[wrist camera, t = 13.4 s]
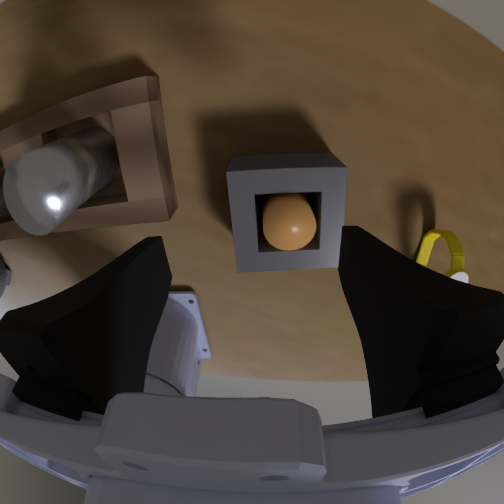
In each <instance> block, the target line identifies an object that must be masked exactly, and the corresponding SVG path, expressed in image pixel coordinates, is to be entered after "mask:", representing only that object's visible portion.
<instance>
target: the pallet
mask: <svg viewBox="0 0 504 504" xmlns="http://www.w3.org/2000/svg"><path fill="white" fill-rule="evenodd" d="M89 127H100V128H103V129H105V130H106V131H108V132H109V133H110V134H111V135H112V136H113V137H114V138H115V141H116V146H117V151H118V156H119V161H120V166H119V170H118V172H117V174H116V175H115V177H114V178H113V179H112V180H111V181H110V182H109V183H107V184H106V185H105V186H104V187H102V188H101V189H100V190H99V191H97V192H96V193H95V194H94V195H92V196H91V197H90V198H89V199H88V200H86V201H85V202H84V203H83V204H82V205H80V206H79V207H78V208H77V209H76V210H75V211H73V212H72V213H71V214H70V215H69V216H68V217H67V218H65V219H64V220H63V221H62V222H61V223H60V224H59V225H58V226H57V227H56V228H55V229H53V230H52V231H51V232H50V233H57V232H65V231H74V230H82V229H91V228H100V227H109V226H119V225H129V224H139V223H150V222H161V221H170V219H171V217H172V216H173V214H174V212H175V211H176V209H177V207H178V204H177V199H176V193H175V188H174V182H173V176H172V170H171V164H170V158H169V152H168V145H167V138H166V132H165V125H164V117H163V110H162V102H161V94H160V85H159V76H142V77H138V78H134V79H130V80H127V81H123V82H119V83H116V84H112V85H109V86H106V87H103V88H99V89H96V90H93V91H90V92H87V93H85V94H82V95H79V96H76V97H73V98H71V99H68V100H66V101H63V102H60V103H58V104H56V105H53V106H51V107H48V108H46V109H44V110H41V111H39V112H37V113H35V114H33V115H31V116H28V117H26V118H24V119H22V120H20V121H18V122H16V123H14V124H12V125H10V126H8V127H7V128H5V129H3V130H1V131H0V161H3V164H4V168H5V171H6V169H7V167H8V165H9V164H10V163H11V162H12V161H13V160H14V159H15V158H17V157H19V156H21V155H23V154H25V153H27V152H30V151H32V150H34V149H36V148H38V147H41V146H43V145H45V144H47V143H50V142H52V141H55V140H57V139H59V138H62V137H64V136H67V135H70V134H72V133H75V132H77V131H80V130H83V129H86V128H89ZM48 234H49V233H48ZM27 236H34V235H33V234H30V233H28V232H26V231H25V230H23V229H22V228H21V227H20V226H19V225H18V224H17V223H16V222H15V221H14V219H13V218H12V216H11V214H10V213H9V210H8V209H7V210H6V211H5V212H3V213H2V214H1V215H0V240H6V239H13V238H20V237H27Z"/></svg>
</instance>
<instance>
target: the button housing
mask: <svg viewBox="0 0 504 504" xmlns="http://www.w3.org/2000/svg"><path fill="white" fill-rule="evenodd" d="M226 176H227V185H228V194H229V203H230V212H231V221H232V229H233V238H234V246H235V255H236V263H237V271H238V272H257V271H277V270H296V269H314V268H331V267H338V264H339V254H340V244H341V233H342V226H344V214H345V199H346V181H347V167H346V166H345V165H344V164H343V163H342V162H341V161H340V160H339V159H338V158H337V157H336V156H335V155H334V154H333V153H332V152H302V153H273V154H255V155H240V156H232V157H231V160H230V163H229V165H228V168H227V171H226ZM296 192H311V210H312V212H313V215H314V217H315V220H316V231H315V234H314V236H313V238H312V240H311V241H310V242H309V243H308V244H307V245H305V246H304V247H302V248H300V249H297V250H291V251H286V250H281V249H278V248H276V247H274V246H272V245H271V244H270V243H269V242H268V241H267V239H266V238H265V235H264V232H263V225H258V211H257V197H256V194H273V193H296Z"/></svg>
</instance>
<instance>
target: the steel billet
mask: <svg viewBox="0 0 504 504" xmlns="http://www.w3.org/2000/svg"><path fill="white" fill-rule="evenodd" d="M119 166H120V161H119V156H118V151H117V146H116V141H115V138H114V137H113V136H112V135H111V134H110V133H109V132H108V131H106V130H105V129H103V128H100V127H89V128H86V129H83V130H80V131H77V132H75V133H72V134H70V135H67V136H64V137H62V138H59V139H57V140H55V141H52V142H50V143H47V144H45V145H43V146H41V147H38V148H36V149H34V150H32V151H30V152H27V153H25V154H23V155H21V156H19V157H17V158H15V159H14V160H13V161H12V162H11V163H10V164H9V165H8V167H7V169H6V171H5V175H4V179H3V193H4V199H5V203H6V206H7V208H8V210H9V213H10V214H11V216H12V218H13V219H14V221H15V222H16V223H17V224H18V225H19V226H20V227H21V228H22V229H23V230H25V231H26V232H28V233H30V234H33V235H37V236H42V235H46V234H48V233H50V232H51V231H52V230H53V229H55V228H56V227H57V226H58V225H59V224H60V223H61V222H62V221H63V220H64V219H65V218H67V217H68V216H69V215H70V214H71V213H72V212H73V211H75V210H76V209H77V208H78V207H79V206H80V205H82V204H83V203H84V202H85V201H86V200H88V199H89V198H90V197H91V196H92V195H94V194H95V193H96V192H97V191H99V190H100V189H101V188H102V187H104V186H105V185H106V184H107V183H109V182H110V181H111V180H112V179H113V178H114V177H115V175H116V174H117V172H118V170H119Z"/></svg>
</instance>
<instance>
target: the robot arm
mask: <svg viewBox="0 0 504 504" xmlns="http://www.w3.org/2000/svg"><path fill="white" fill-rule="evenodd" d="M338 272H339V276H340V281H341V285H342V289H343V292H344V295H345V297H346V300H347V303H348V305H349V308H350V311H351V313H352V316H353V319H354V321H355V324H356V327H357V330H358V333H359V336H360V339H361V343H362V348H363V353H364V358H365V363H366V368H367V374H368V381H369V387H370V395H371V405H372V418H371V419H366V420H360V421H354V422H348V423H340V424H333V425H326V426H322V422H321V418H320V416H319V414H318V411H317V409H315V408H313V407H312V406H309V405H307V404H304V403H301V402H299V401H296V400H294V399H280V398H269V397H259V398H214V397H213V398H212V397H196V393H197V386H198V380H199V374H200V368H201V362H202V358H210V357H211V350H210V347H209V343H208V339H207V336H206V332H205V328H204V324H203V320H202V317H201V313H200V309H199V305H198V301H197V297H196V294H195V293H194V292H193V291H170V286H171V281H172V274H171V271H170V267H169V263H168V259H167V256H166V252H165V248H164V244H163V240H162V236H156V237H147V238H145V239H143V240H142V241H140V242H139V243H137V244H136V245H134V246H133V247H131V248H130V249H129V250H127V251H126V252H124V253H123V254H122V255H120V256H119V257H118V258H116V259H115V260H113V261H112V262H110V263H109V264H108V265H106V266H105V267H103V268H102V269H100V270H99V271H97V272H96V273H94V274H93V275H91V276H90V277H88V278H86V279H85V280H83V281H81V282H79V283H78V284H76V285H74V286H72V287H70V288H68V289H66V290H64V291H62V292H60V293H58V294H56V295H53V296H51V297H49V298H46V299H44V300H41V301H39V302H36V303H33V304H30V305H27V306H24V307H21V308H17V309H14V310H10V311H8V312H6V313H5V315H4V316H3V317H2V319H1V320H0V352H1V354H2V355H3V357H4V358H5V359H6V360H7V362H8V363H9V364H10V365H11V367H12V368H13V369H14V370H15V371H16V373H17V374H18V375H19V376H20V377H19V379H18V380H17V382H16V381H14V380H13V379H11V378H9V377H7V376H4V375H2V374H0V444H1V445H2V446H3V447H5V448H6V449H8V450H9V451H10V452H12V453H13V454H15V455H17V456H19V457H21V458H22V459H24V460H26V461H28V462H30V463H31V464H33V465H35V466H37V467H39V468H41V469H43V470H45V471H47V472H49V473H51V474H53V475H55V476H57V477H60V478H62V479H64V480H66V481H68V482H71V483H73V484H75V485H78V486H80V487H83V488H85V489H86V490H87V492H86V496H85V500H84V504H401V498H404V497H407V496H410V495H413V494H416V493H418V492H421V491H424V490H426V489H429V488H431V487H434V486H436V485H439V484H441V483H443V482H446V481H448V480H450V479H452V478H454V477H456V476H458V475H461V474H463V473H465V472H467V471H469V470H471V469H473V468H475V467H477V466H478V465H480V464H482V463H484V462H486V461H488V460H489V459H491V458H493V457H495V456H496V455H498V454H500V453H501V452H503V451H504V368H503V369H502V370H501V371H500V372H499V370H498V368H497V366H496V364H498V362H499V357H498V355H497V354H496V351H497V349H498V348H499V346H500V344H501V343H502V341H503V340H504V294H503V293H502V292H500V291H496V290H491V289H487V288H482V287H478V286H474V285H471V284H468V283H464V282H461V281H458V280H455V279H453V278H450V277H447V276H445V275H443V274H440V273H438V272H435V271H433V270H431V269H429V268H427V267H425V266H423V265H421V264H419V263H417V262H415V261H413V260H411V259H409V258H408V257H406V256H404V255H403V254H401V253H399V252H398V251H396V250H394V249H393V248H391V247H390V246H388V245H387V244H385V243H384V242H382V241H381V240H379V239H378V238H376V237H375V236H373V235H372V234H370V233H369V232H367V231H365V230H364V229H362V228H360V227H358V226H342V233H341V244H340V254H339V264H338ZM191 300H193V301H191Z"/></svg>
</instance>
